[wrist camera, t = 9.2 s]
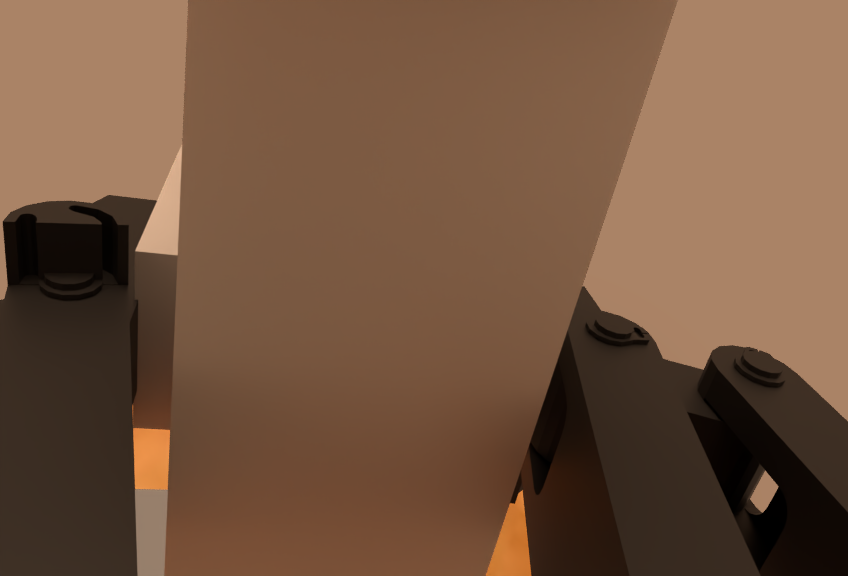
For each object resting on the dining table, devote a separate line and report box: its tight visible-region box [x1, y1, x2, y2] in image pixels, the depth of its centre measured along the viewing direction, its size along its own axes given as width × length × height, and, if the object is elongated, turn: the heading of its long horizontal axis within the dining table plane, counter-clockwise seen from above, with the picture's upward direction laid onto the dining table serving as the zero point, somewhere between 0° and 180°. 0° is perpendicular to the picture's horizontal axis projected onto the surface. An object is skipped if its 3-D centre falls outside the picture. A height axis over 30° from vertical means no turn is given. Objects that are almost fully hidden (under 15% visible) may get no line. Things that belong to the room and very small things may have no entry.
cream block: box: [164, 0, 678, 576], centre depth 11 cm, size 4×9×15 cm, turn 9°
